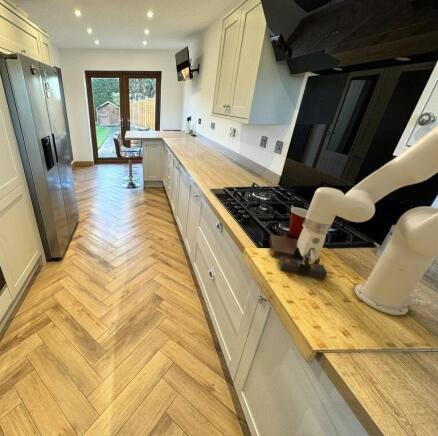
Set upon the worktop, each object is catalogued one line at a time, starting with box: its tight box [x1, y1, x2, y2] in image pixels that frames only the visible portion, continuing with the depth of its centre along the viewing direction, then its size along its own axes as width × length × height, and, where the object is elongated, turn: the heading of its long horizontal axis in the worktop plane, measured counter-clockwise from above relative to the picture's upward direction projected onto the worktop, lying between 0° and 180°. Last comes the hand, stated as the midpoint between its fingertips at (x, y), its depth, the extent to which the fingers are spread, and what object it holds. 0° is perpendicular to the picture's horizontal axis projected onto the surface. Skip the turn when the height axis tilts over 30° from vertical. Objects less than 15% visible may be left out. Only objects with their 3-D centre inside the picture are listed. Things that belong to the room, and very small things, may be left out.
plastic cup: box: [288, 207, 308, 238], centre depth 110 cm, size 11×11×12 cm
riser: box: [268, 234, 321, 264], centre depth 98 cm, size 16×14×3 cm
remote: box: [278, 257, 328, 281], centre depth 86 cm, size 14×5×3 cm, turn 70°
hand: (299, 265), depth 86 cm, fingers open, 9 cm apart
